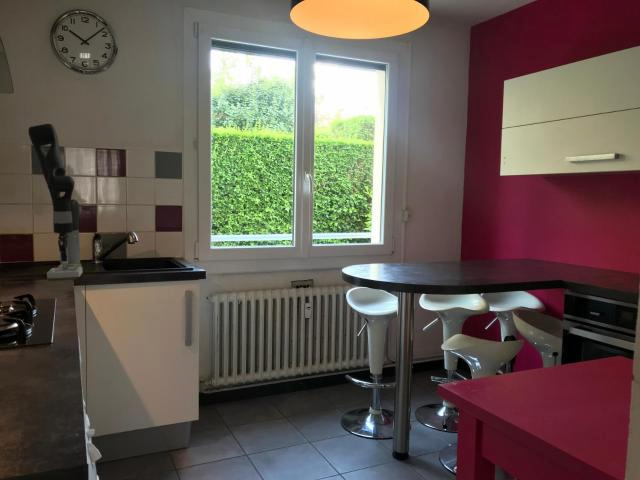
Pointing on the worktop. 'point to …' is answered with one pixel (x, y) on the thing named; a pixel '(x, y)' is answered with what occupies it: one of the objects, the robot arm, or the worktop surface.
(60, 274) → the tray
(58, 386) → the worktop surface
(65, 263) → the pin
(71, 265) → the pin block
